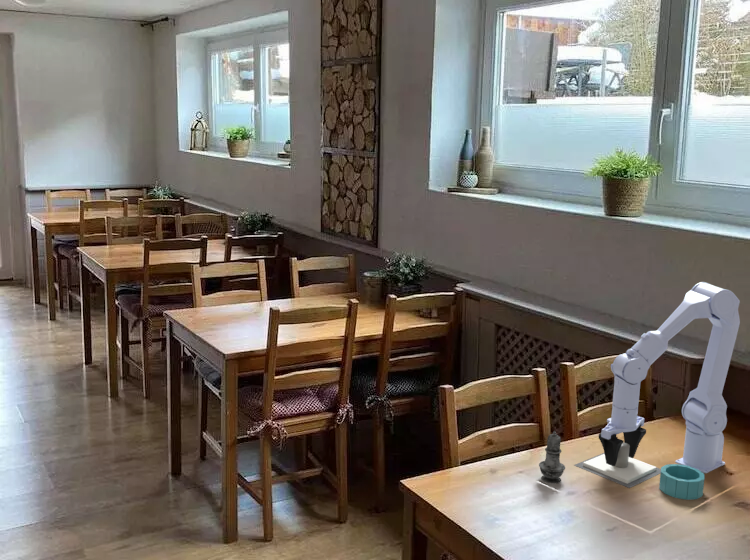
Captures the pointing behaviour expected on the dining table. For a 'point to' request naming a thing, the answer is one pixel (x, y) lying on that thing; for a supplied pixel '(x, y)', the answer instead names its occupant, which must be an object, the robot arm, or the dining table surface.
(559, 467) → the dark grey turned figure
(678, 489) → the bowl
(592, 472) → the mat
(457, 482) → the dining table surface
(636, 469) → the lid
